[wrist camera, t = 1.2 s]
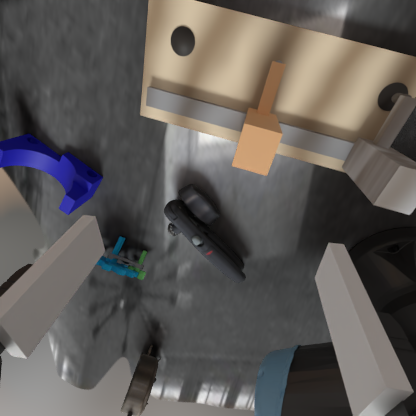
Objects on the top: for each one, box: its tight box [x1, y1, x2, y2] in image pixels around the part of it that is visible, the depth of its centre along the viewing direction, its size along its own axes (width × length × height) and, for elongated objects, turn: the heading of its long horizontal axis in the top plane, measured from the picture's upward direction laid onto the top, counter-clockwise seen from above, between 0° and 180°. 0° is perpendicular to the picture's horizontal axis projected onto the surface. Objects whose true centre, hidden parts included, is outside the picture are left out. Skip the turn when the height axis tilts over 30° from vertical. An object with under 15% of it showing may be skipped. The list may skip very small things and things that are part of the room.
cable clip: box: [0, 134, 103, 215], centre depth 35 cm, size 12×4×6 cm, turn 52°
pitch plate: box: [140, 0, 416, 215], centre depth 23 cm, size 28×12×12 cm, turn 77°
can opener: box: [164, 184, 246, 283], centre depth 36 cm, size 18×7×6 cm, turn 35°
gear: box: [95, 236, 147, 280], centre depth 42 cm, size 11×6×10 cm
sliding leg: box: [232, 60, 286, 176], centre depth 22 cm, size 3×8×10 cm, turn 167°
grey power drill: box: [121, 345, 161, 416], centre depth 53 cm, size 11×5×16 cm, turn 161°
